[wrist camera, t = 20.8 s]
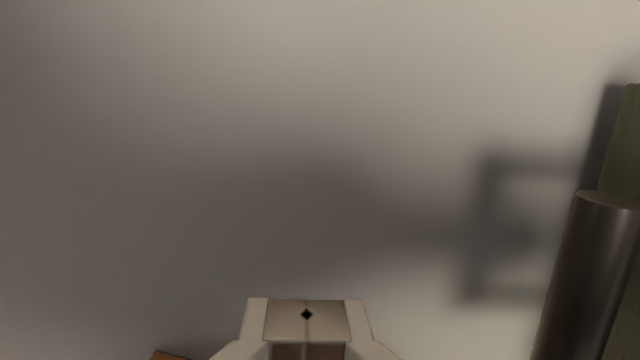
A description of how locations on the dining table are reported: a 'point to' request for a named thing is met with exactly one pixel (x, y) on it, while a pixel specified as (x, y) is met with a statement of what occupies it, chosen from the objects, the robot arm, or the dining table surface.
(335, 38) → the dining table surface
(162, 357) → the stand
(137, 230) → the dining table surface
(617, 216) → the drawer
